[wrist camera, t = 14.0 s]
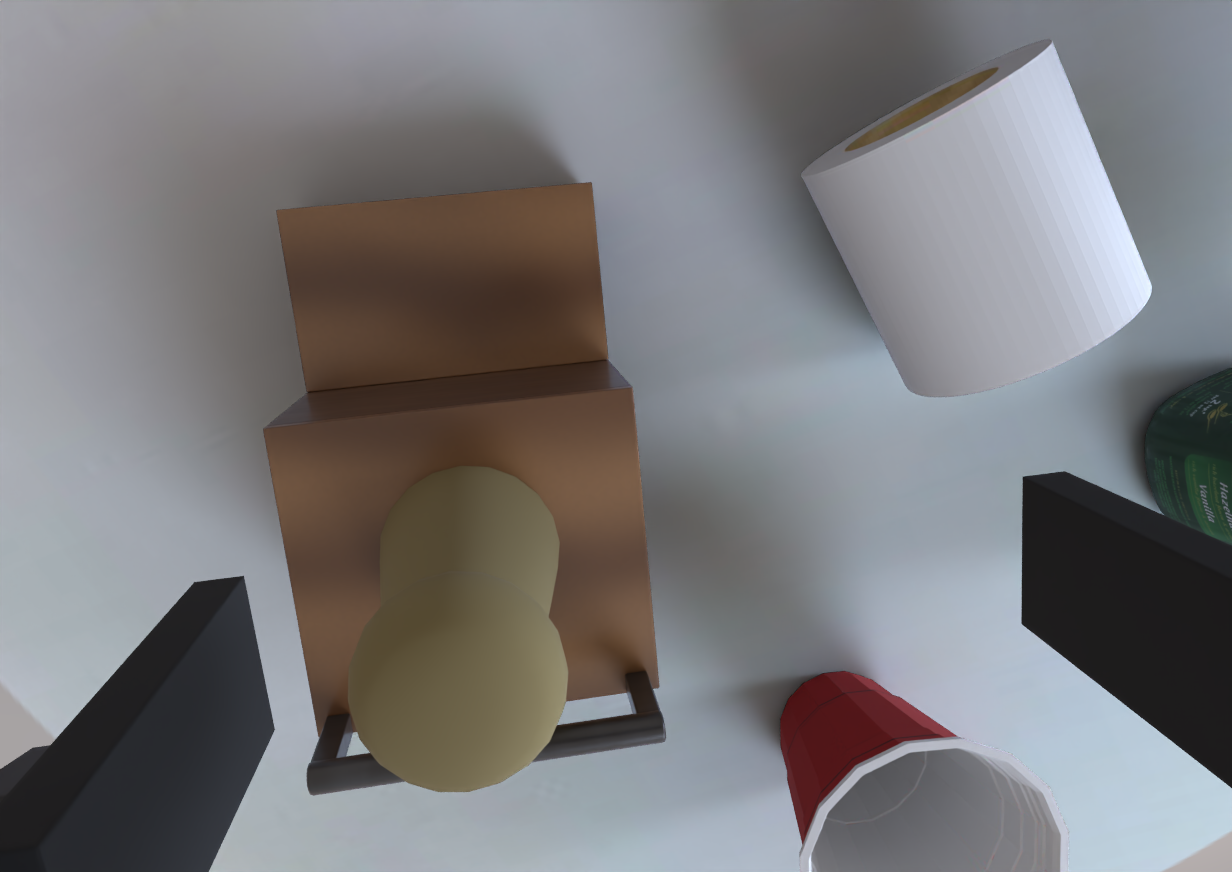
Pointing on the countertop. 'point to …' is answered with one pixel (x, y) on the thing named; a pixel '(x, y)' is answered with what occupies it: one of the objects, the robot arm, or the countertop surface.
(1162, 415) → the coffee jar
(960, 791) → the plastic cup
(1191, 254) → the countertop surface
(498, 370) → the brown wooden stepped block
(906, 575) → the countertop surface
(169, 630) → the robot arm
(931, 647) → the countertop surface
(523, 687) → the pale yellow rounded piece
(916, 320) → the toilet paper
